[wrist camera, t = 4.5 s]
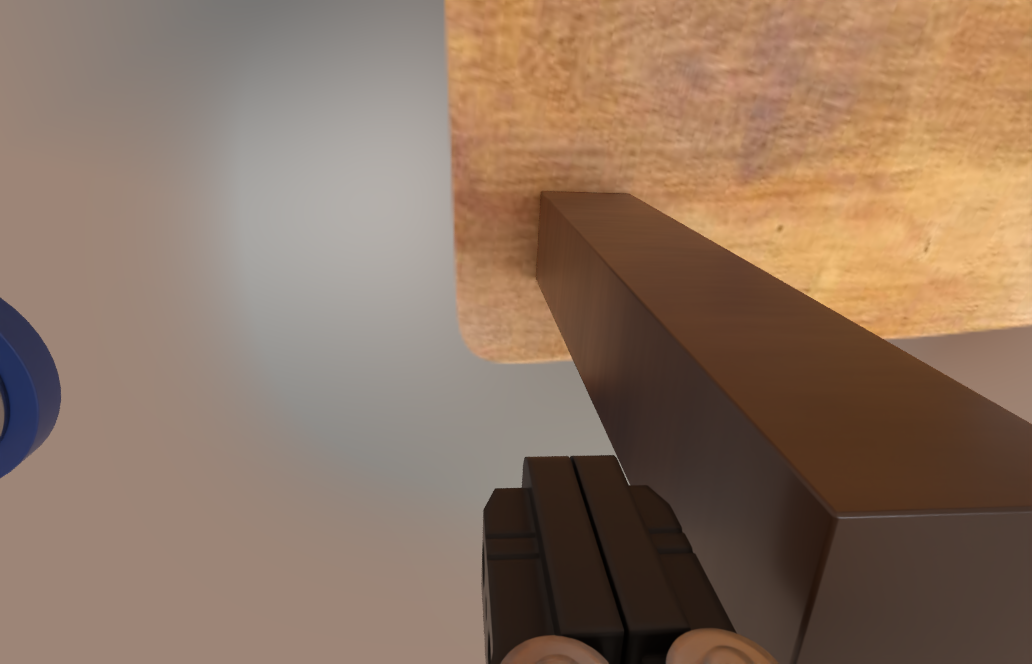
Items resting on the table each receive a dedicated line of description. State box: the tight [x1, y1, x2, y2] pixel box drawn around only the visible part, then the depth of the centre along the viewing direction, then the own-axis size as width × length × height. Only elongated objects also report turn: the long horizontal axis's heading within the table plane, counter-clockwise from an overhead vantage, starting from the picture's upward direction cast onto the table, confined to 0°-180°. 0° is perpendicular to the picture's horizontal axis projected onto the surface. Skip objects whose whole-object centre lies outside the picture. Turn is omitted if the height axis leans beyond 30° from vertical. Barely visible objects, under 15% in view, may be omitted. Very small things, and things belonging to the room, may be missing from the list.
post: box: [536, 191, 1032, 664], centre depth 19 cm, size 4×4×24 cm
